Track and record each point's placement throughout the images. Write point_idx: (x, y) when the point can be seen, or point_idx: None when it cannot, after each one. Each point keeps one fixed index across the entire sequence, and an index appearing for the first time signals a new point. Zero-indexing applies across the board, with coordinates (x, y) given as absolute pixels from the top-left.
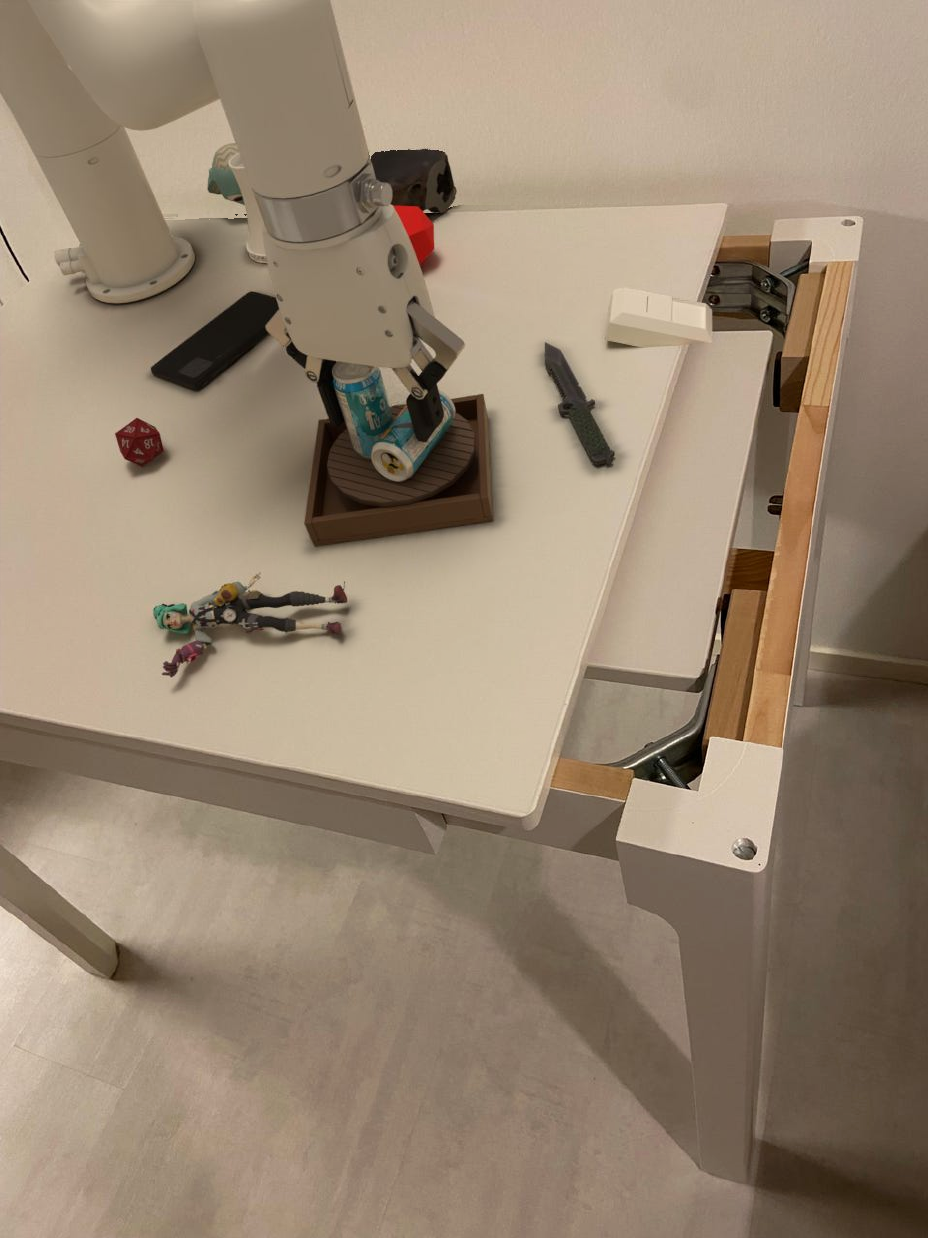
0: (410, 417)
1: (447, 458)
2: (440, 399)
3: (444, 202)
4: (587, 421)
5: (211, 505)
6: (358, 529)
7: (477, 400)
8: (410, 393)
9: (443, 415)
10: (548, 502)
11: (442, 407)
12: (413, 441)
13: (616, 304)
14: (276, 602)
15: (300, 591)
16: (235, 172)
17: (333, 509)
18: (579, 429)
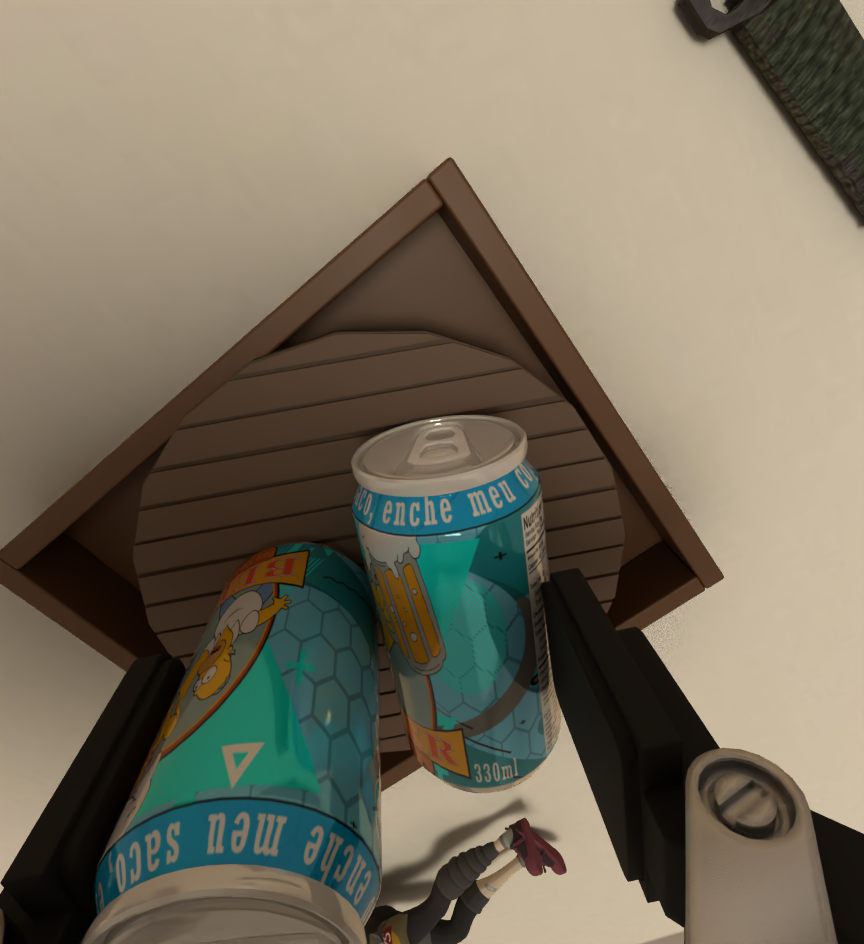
0: (592, 789)
1: (556, 540)
2: (675, 682)
3: None
4: (840, 57)
5: (11, 786)
6: None
7: (456, 212)
8: (630, 860)
9: (634, 627)
10: (787, 422)
11: (655, 651)
12: (550, 704)
13: None
14: (440, 919)
15: (455, 880)
16: None
17: None
18: (817, 113)
